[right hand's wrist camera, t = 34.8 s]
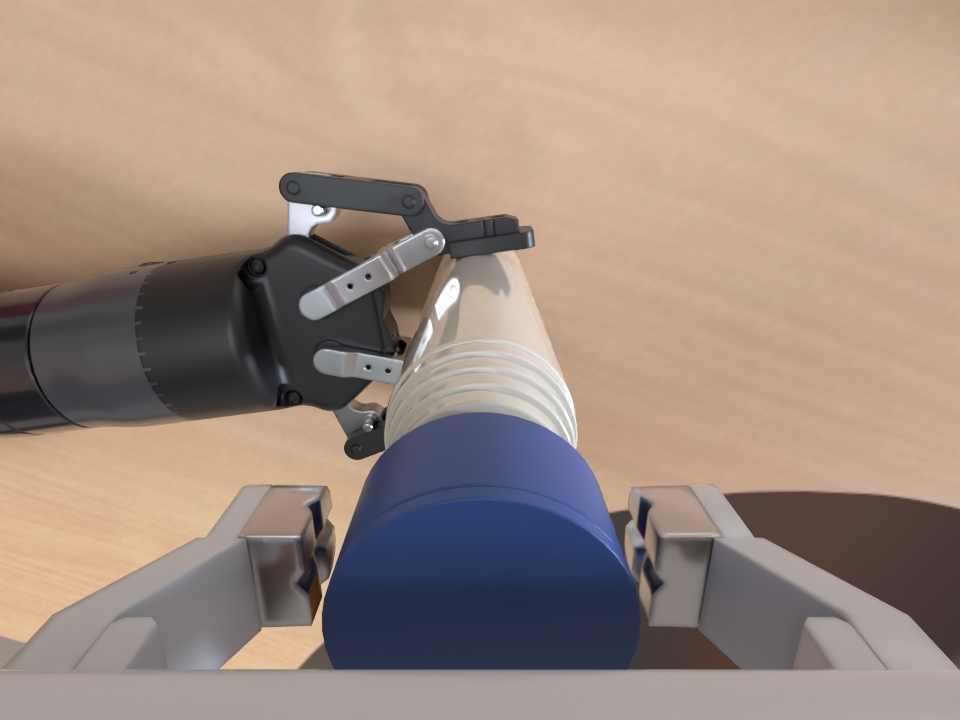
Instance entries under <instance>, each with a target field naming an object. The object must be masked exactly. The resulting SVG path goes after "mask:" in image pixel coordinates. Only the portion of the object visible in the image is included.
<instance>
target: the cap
mask: <svg viewBox="0 0 960 720" xmlns="http://www.w3.org/2000/svg"><path fill="white" fill-rule="evenodd" d="M640 631H641V611H640V602H639V598H638V595H637V591H636V588H635V584H634V582H633V579H632V576H631V573H630V571H629V568H628V565H627V562H626V559H625V557H624V554H623V551H622V548H621V546H620V543H619V540H618V537H617V535H616V532H615V529H614V526H613V524H612V521H611V518H610V515H609V512H608V510H607V507H606V504H605V501H604V498H603V496H602V493H601V490H600V487H599V485H598V482H597V480H596V478H595V476H594V474H593V472H592V470H591V469H590V467H589V466H588V464H587V463H586V461H585V460H584V458H583V457H582V456H581V455H580V454H579V453H578V452H577V451H576V449H575V448H574V447H573V446H571V445H570V444H569V443H568V442H567V441H565V440H564V439H563V438H562V437H560V436H559V435H557V434H556V433H554V432H552V431H551V430H549V429H547V428H545V427H543V426H541V425H539V424H537V423H535V422H532V421H529V420H526V419H523V418H520V417H517V416H512V415H507V414H501V413H492V412H491V413H490V412H473V413H462V414H456V415H450V416H446V417H443V418H440V419H436V420H433V421H430V422H428V423H426V424H424V425H421V426H419V427H417V428H415V429H413V430H412V431H410V432H408V433H407V434H405V435H404V436H402V437H401V438H400V439H398V440H397V441H396V442H395V443H393V444H392V445H391V446H390V447H389V448H388V449H387V450H386V451H385V452H384V453H383V454H382V455H381V456H380V458H379V459H378V460H377V462H376V463H375V465H374V466H373V467H372V469H371V471H370V473H369V475H368V477H367V479H366V481H365V483H364V486H363V489H362V492H361V495H360V497H359V500H358V503H357V506H356V509H355V512H354V514H353V517H352V520H351V523H350V526H349V528H348V531H347V534H346V537H345V540H344V543H343V545H342V548H341V551H340V554H339V557H338V560H337V562H336V565H335V568H334V571H333V574H332V577H331V579H330V582H329V585H328V588H327V591H326V595H325V598H324V604H323V610H322V632H323V637H324V643H325V648H326V650H327V653H328V656H329V659H330V662H331V664H332V666H333V668H334V669H335V670H628V669H629V668H630V666H631V664H632V661H633V659H634V656H635V653H636V651H637V647H638V642H639V638H640Z"/></svg>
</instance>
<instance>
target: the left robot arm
mask: <svg viewBox="0 0 960 720" xmlns="http://www.w3.org/2000/svg"><path fill="white" fill-rule="evenodd" d="M279 190H280V193H281V195H282V196H283V197H284V199H286V200H287V201H288V235H287V236H285V237H283V238H281V239H280V240H279V241H278V242H277V243H275V244H274V245H273V246H271V247H269V248H264V249H258V250H251V251H244V252H237V253H230V254H223V255H216V256H209V257H202V258H195V259H188V260H181V261H174V262H168V263H165V262H150V263H144V264H141V265H139V266H138V267H133V268H126V269H119V270H114V271H109V272H105V273H101V274H97V275H94V276H91V277H88V278H84V279H81V280H77V281H73V282H67V283H60V284H53V285H46V286H39V287H32V288H25V289H18V290H11V291H5V292H0V438H18V437H28V436H35V435H43V434H52V433H60V432H68V431H75V430H83V429H91V428H98V427H144V426H154V425H162V424H170V423H178V422H186V421H193V420H202V419H209V418H217V417H225V416H233V415H240V414H248V413H256V412H264V411H272V410H279V409H284V408H289V407H294V406H299V405H308V406H313V407H317V408H319V409H322V410H326V411H333V412H334V414H335V416H336V417H337V419H338V421H339V423H340V425H341V426H342V428H343V430H344V432H345V434H346V435H347V438H348V439H347V441H346V443H345V445H344V451H345V453H346V455H347V456H348V457H350V458H352V459H355V460H360V459H363V458H366V457H369V456H371V455H374V454H377V453H379V452H382V451H385V450H386V449H385V443H384V429H385V422H386V413H387V407H386V408H383V407H382V406H381V405H380V404H378V403H368V404H363V403H360V402H358V401H356V400H355V399H354V398H355V397H357V396H358V395H359V394H360V393H361V392H362V391H363V390H364V389H365V388H366V387H367V386H368V385H369V384H370V383H371V382H372V381H378V382H383V383H389V384H394V385H395V383H396V380H397V377H398V375H399V372H400V369H401V367H402V364H403V361H404V359H405V356H406V353H407V350H408V348H409V345H410V342H411V340H412V338H409V337H404V336H399V332H398V327H397V323H396V321H395V319H394V317H393V315H392V313H391V311H390V296H391V292H390V286H389V282H390V281H392V280H394V279H395V278H397V277H399V276H400V275H401V274H403V273H404V272H406V271H408V270H410V269H412V268H414V267H416V266H418V265H420V264H421V263H423V262H425V261H427V260H429V259H431V258H433V257H435V256H437V255H444V254H450V258H451V259H456V258H463V257H469V256H475V255H484V254H491V253H498V252H505V251H512V250H519V249H526V248H531V247H534V246H535V241H534V231H533V229H532V227H531V226H521V227H519V222H518V219H517V217H515V216H511V215H507V214H501V215H494V216H487V217H480V218H473V219H466V220H459V221H446V220H444V219H442V218H441V217H439V216H438V214H437V213H436V211H435V210H434V208H433V206H432V204H431V202H430V200H429V198H428V193H427V191H426V189H425V188H424V187H423V186H421V185H419V184H413V183H405V182H396V181H388V180H380V179H371V178H363V177H354V176H346V175H338V174H329V173H321V172H313V171H304V172H303V171H302V172H293V173H287V174H285V175H284V176H283V177H282V178H281V180H280V182H279ZM341 209H349V210H358V211H366V212H375V213H383V214H392V215H400V216H402V217H403V219H404V220H405V222H406V224H407V226H408V227H409V229H410V231H411V233H410V234H408V235H406V236H404V237H402V238H400V239H398V240H396V241H394V242H392V243H390V244H388V245H386V246H384V247H382V248H380V249H379V250H377V251H375V252H373V253H371V254H369V255H367V256H366V257H364V258H360V257H358V256H357V255H355V254H353V253H351V252H349V251H347V250H345V249H343V248H341V247H339V246H337V245H335V244H333V243H331V242H329V241H327V240H325V239H323V238H321V237H319V236H317V235H316V234H314V233H315V229H316V227H317V225H318V224H320V223H328V222H330V221H332V220H334V219H336V218H337V217H338V216H339V214H340V211H341ZM397 348H399V349H397ZM387 368H389V369H390V370H389V369H387Z"/></svg>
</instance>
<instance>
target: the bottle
mask: <svg viewBox="0 0 960 720" xmlns="http://www.w3.org/2000/svg"><path fill="white" fill-rule="evenodd" d="M473 412H490V413H491V412H492V413H501V414H507V415H512V416H517V417H520V418H523V419H526V420H529V421H532V422H535V423H537V424H539V425H541V426H543V427H545V428H547V429H549V430H551V431H552V432H554V433H556V434H557V435H559V436H560V437H562V438H563V439H564V440H565V441H567V442H568V443H569V444H570V445H571V446H573V447H574V448H575V449H576V448H577V440H578V434H577V423H576V414H575V408H574V403H573V400H572V397H571V394H570V391H569V389H568V386H567V383H566V381H565V378H564V376H563V373H562V370H561V368H560V365H559V362H558V360H557V357H556V355H555V352H554V349H553V347H552V344H551V341H550V339H549V336H548V334H547V331H546V328H545V326H544V323H543V320H542V318H541V315H540V313H539V310H538V307H537V305H536V302H535V299H534V297H533V294H532V292H531V289H530V286H529V284H528V281H527V278H526V276H525V273H524V271H523V268H522V265H521V263H520V260H519V257H518V255H517V253H516V252H515V250H512V251H505V252H498V253H491V254H484V255H475V256H469V257H463V258H456V259H451V258H450V254H444V255H443V257H442V260H441V262H440V265H439V268H438V270H437V273H436V276H435V278H434V281H433V284H432V286H431V289H430V292H429V294H428V297H427V300H426V302H425V305H424V308H423V310H422V313H421V316H420V318H419V321H418V324H417V326H416V329H415V332H414V334H413V337H412V340H411V342H410V345H409V348H408V350H407V353H406V356H405V359H404V361H403V364H402V367H401V369H400V372H399V375H398V377H397V380H396V383H395V385H394V388H393V391H392V393H391V396H390V399H389V403H388V406H387V413H386V422H385V429H384V443H385V449H386V450H387V449H388V448H389V447H390V446H391V445H392V444H393V443H395V442H396V441H397V440H398V439H400V438H401V437H402V436H404V435H405V434H407V433H408V432H410V431H412V430H413V429H415V428H417V427H419V426H421V425H424V424H426V423H428V422H430V421H433V420H436V419H440V418H443V417H446V416H450V415H456V414H462V413H473Z"/></svg>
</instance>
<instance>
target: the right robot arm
mask: <svg viewBox="0 0 960 720" xmlns="http://www.w3.org/2000/svg"><path fill="white" fill-rule="evenodd" d="M331 508H332V502H331V495H330V490H329V489H328V487H327V486H301V485H274V486H273V485H247V486H244V487H242V488H241V490H240V491H239V493H238V494H237V495H236V497H235V498H234V499H233V501H232V502H231V504H230V505H229V506H228V508H227V509H226V510H225V512H224V513H223V515H222V516H221V517H220V519H219V520H218V521H217V523H216V524H215V526H214V527H213V528H212V530H211V531H210V532H209V534H208V535H207V537H206V538H196V539H194V540H192V541H190V542H189V543H187V544H185V545H183V546H181V547H179V548H177V549H175V550H173V551H172V552H170V553H168V554H166V555H164V556H162V557H160V558H158V559H157V560H155V561H153V562H151V563H149V564H147V565H145V566H143V567H142V568H140V569H138V570H136V571H134V572H132V573H130V574H128V575H126V576H125V577H123V578H121V579H119V580H117V581H115V582H113V583H111V584H110V585H108V586H106V587H104V588H102V589H100V590H98V591H96V592H95V593H93V594H91V595H89V596H87V597H85V598H83V599H81V600H80V601H78V602H76V603H74V604H72V605H70V606H68V607H66V608H64V609H63V610H61V611H59V612H57V613H55V614H53V615H52V616H51V617H50V618H49V619H48V620H47V621H46V622H45V624H44V625H43V626H42V627H41V628H40V629H39V630H38V631H37V632H36V633H35V634H34V635H33V636H32V637H31V638H30V640H29V641H28V642H27V643H26V644H25V645H24V646H23V647H22V648H21V649H20V650H19V651H18V652H17V653H16V654H15V656H14V657H13V658H12V659H11V660H10V661H9V662H8V663H7V664H6V665H5V666H4V667H3V668H2V669H0V720H960V670H959V669H958V668H957V667H956V666H955V665H954V664H953V663H952V662H951V661H950V660H949V658H948V657H947V656H946V655H945V654H944V653H943V652H942V651H941V650H940V649H939V648H938V647H937V646H936V645H935V644H934V642H933V641H932V640H931V639H930V638H929V637H928V636H927V635H926V634H925V633H924V632H923V631H922V630H921V628H920V627H919V626H918V625H917V624H916V623H915V622H914V621H913V620H912V619H911V618H910V617H909V616H908V615H906V614H904V613H903V612H901V611H899V610H897V609H895V608H893V607H891V606H890V605H888V604H886V603H884V602H882V601H880V600H878V599H876V598H875V597H873V596H871V595H869V594H867V593H865V592H863V591H861V590H860V589H858V588H856V587H854V586H852V585H850V584H848V583H846V582H845V581H843V580H841V579H839V578H837V577H835V576H833V575H831V574H830V573H828V572H826V571H824V570H822V569H820V568H818V567H817V566H815V565H813V564H811V563H809V562H807V561H805V560H803V559H802V558H800V557H798V556H796V555H794V554H792V553H790V552H788V551H787V550H785V549H783V548H781V547H779V546H777V545H775V544H773V543H772V542H770V541H768V540H766V539H764V538H754V536H753V535H752V534H751V532H750V531H749V530H748V528H747V527H746V526H745V524H744V523H743V521H742V520H741V519H740V517H739V516H738V515H737V513H736V512H735V511H734V509H733V508H732V506H731V505H730V504H729V502H728V501H727V500H726V498H725V497H724V496H723V494H722V493H721V491H720V490H719V489H718V487H716V486H714V485H712V484H710V485H686V486H650V487H632V488H631V491H630V494H629V502H628V508H629V510H630V512H631V515H632V517H633V519H632V520H631V521H630V522H629V524H628V525H627V526H626V530H625V557H626V562H627V565H628V568H629V571H630V573H631V576H632V579H633V580H634V581H636V582H637V583H638V584H639V592H638V598H639V601H640V604H641V606H642V609H643V612H644V614H645V617H646V620H647V622H648V625H649V626H672V627H699V630H700V631H701V632H702V633H703V634H704V635H705V636H706V637H707V638H708V639H709V640H710V641H712V642H713V643H714V644H715V645H716V646H717V647H718V648H719V649H720V650H721V651H722V652H723V653H725V654H726V655H727V656H728V657H729V658H730V659H731V660H732V661H733V662H734V663H735V664H736V665H738V666H739V667H740V668H741V669H742V670H218V669H219V668H221V667H222V666H223V665H224V664H225V663H226V662H227V661H228V660H229V659H230V658H231V657H233V656H234V655H235V654H236V653H237V652H238V651H239V650H240V649H241V648H242V647H243V646H245V645H246V644H247V643H248V642H249V641H250V640H251V639H252V638H253V637H254V636H255V635H256V634H258V633H259V632H260V631H261V627H287V626H312V623H313V620H314V617H315V615H316V612H317V609H318V606H319V604H320V601H321V598H322V591H321V584H322V583H323V582H324V581H326V580H327V579H328V578H329V576H330V573H331V570H332V567H333V561H334V555H335V529H334V526H333V525H332V523H331V522H330V521H329V520H328V519H327V517H328V515H329V513H330V510H331Z"/></svg>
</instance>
